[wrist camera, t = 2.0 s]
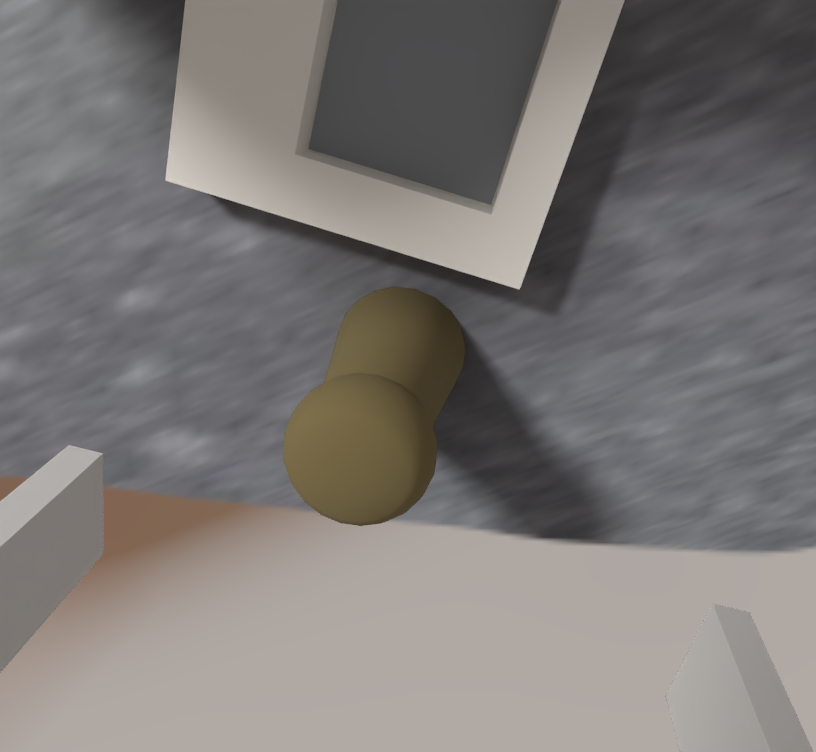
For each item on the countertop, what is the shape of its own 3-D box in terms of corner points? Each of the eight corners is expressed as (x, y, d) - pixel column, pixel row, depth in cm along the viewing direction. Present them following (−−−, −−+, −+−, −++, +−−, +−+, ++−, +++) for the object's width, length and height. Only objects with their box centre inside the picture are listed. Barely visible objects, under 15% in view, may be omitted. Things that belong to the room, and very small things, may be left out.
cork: (468, 407, 32) (450, 556, 22) (345, 409, 33) (273, 553, 23) (462, 283, 29) (438, 388, 19) (329, 289, 30) (241, 392, 20)
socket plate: (189, 173, 29) (165, 180, 27) (234, -194, 23) (209, -220, 21) (518, 275, 29) (519, 289, 27) (643, -71, 23) (656, -86, 21)
